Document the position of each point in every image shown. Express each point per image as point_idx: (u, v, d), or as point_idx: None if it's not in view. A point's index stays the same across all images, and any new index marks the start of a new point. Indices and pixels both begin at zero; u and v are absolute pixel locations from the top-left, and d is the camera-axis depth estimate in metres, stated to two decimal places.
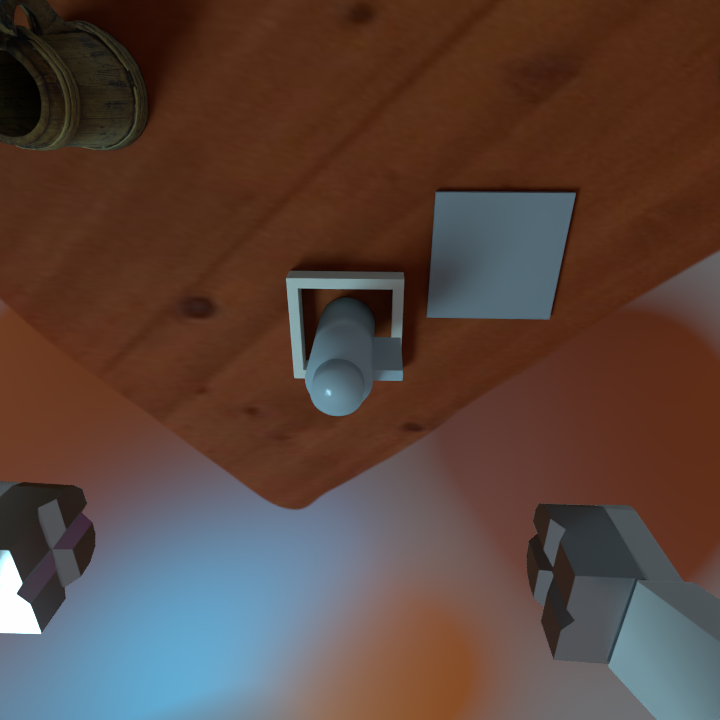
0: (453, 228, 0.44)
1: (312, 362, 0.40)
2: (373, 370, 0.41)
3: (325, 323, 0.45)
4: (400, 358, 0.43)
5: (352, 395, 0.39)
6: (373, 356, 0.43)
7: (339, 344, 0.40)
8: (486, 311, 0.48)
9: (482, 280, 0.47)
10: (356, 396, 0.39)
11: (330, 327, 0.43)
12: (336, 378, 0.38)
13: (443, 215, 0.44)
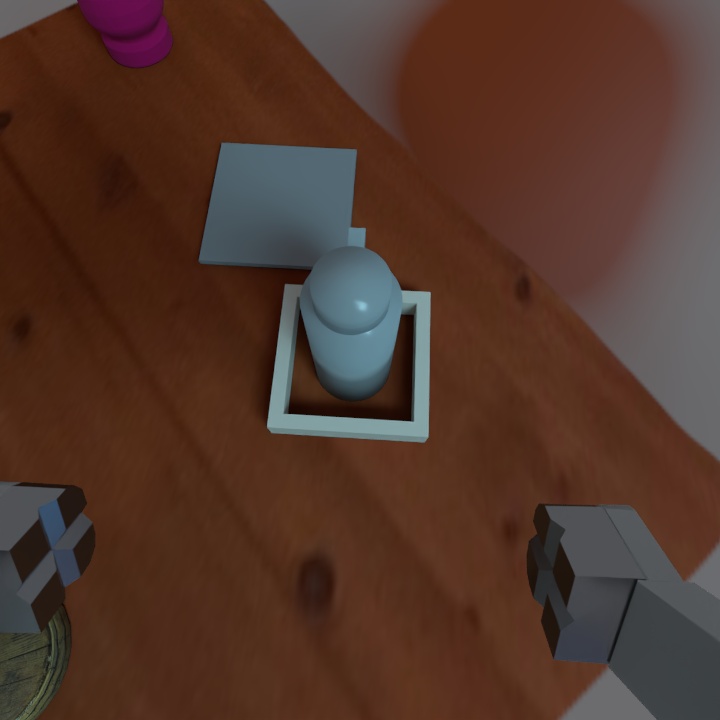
0: (240, 243, 0.40)
1: (316, 333, 0.26)
2: None
3: (315, 361, 0.32)
4: None
5: (353, 260, 0.25)
6: None
7: None
8: (343, 208, 0.41)
9: (304, 213, 0.41)
10: (356, 255, 0.25)
11: (310, 346, 0.31)
12: (321, 280, 0.25)
13: (224, 252, 0.40)
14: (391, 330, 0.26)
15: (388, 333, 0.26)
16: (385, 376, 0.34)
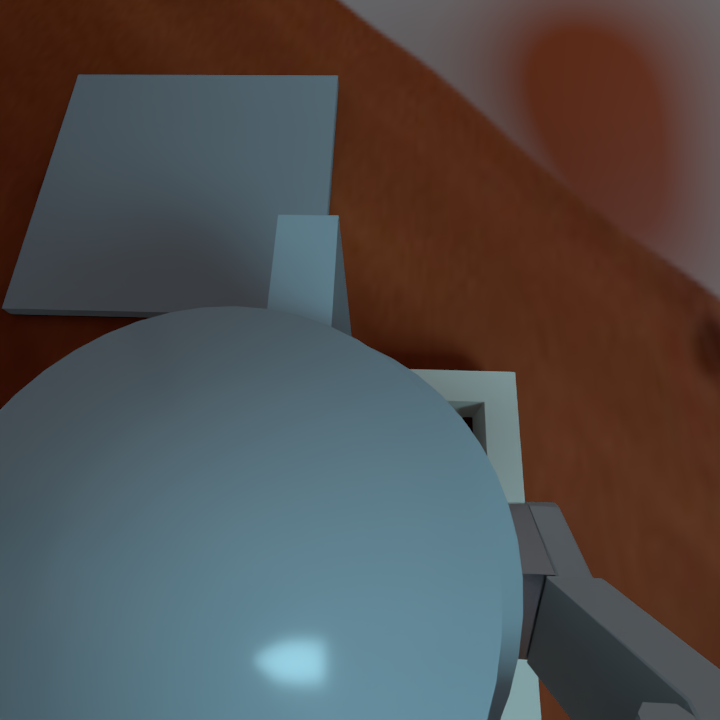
0: (94, 268, 0.19)
1: None
2: None
3: None
4: None
5: (227, 402, 0.04)
6: None
7: None
8: (311, 187, 0.20)
9: (230, 201, 0.20)
10: (249, 366, 0.04)
11: None
12: None
13: (59, 290, 0.19)
14: None
15: None
16: None
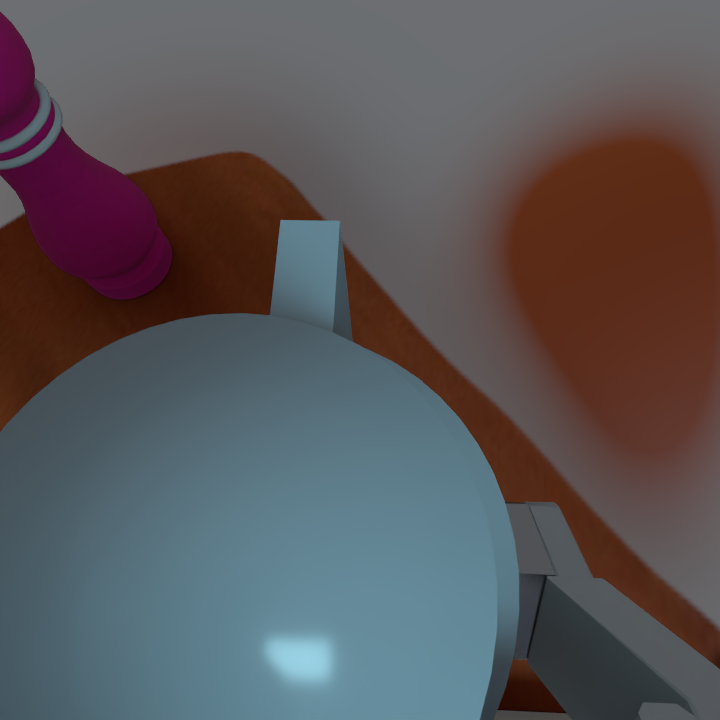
0: None
1: None
2: None
3: None
4: None
5: (236, 405, 0.04)
6: None
7: None
8: None
9: None
10: (255, 370, 0.04)
11: None
12: (12, 563, 0.04)
13: None
14: None
15: None
16: None
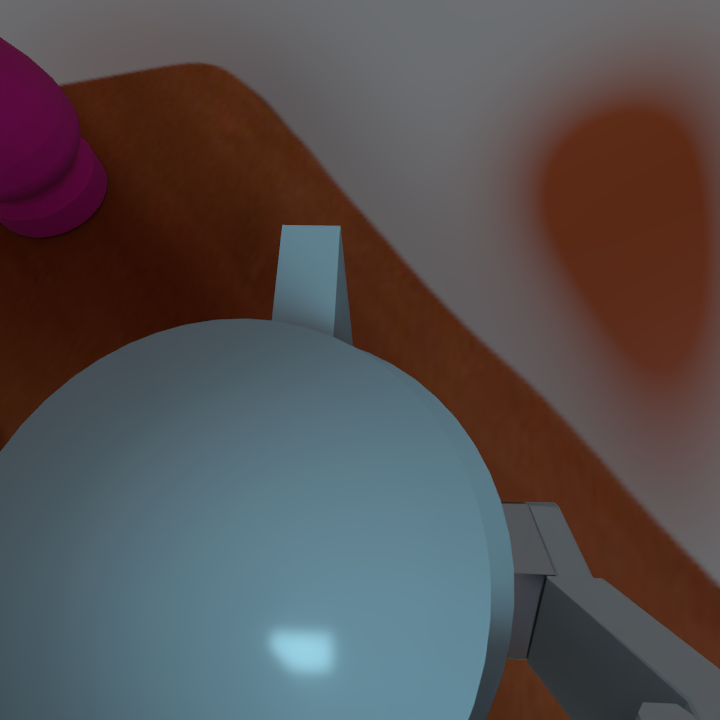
0: None
1: None
2: None
3: None
4: None
5: (240, 406, 0.04)
6: None
7: None
8: None
9: None
10: (259, 374, 0.04)
11: None
12: (27, 558, 0.04)
13: None
14: None
15: None
16: None
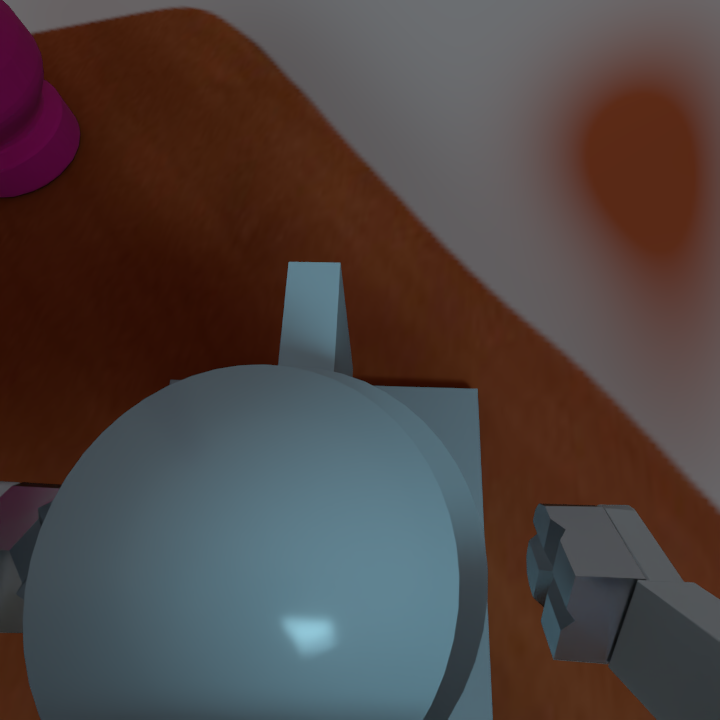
0: None
1: None
2: None
3: None
4: None
5: (260, 438, 0.05)
6: None
7: None
8: None
9: None
10: (275, 411, 0.05)
11: None
12: (94, 560, 0.05)
13: None
14: (449, 706, 0.06)
15: None
16: None
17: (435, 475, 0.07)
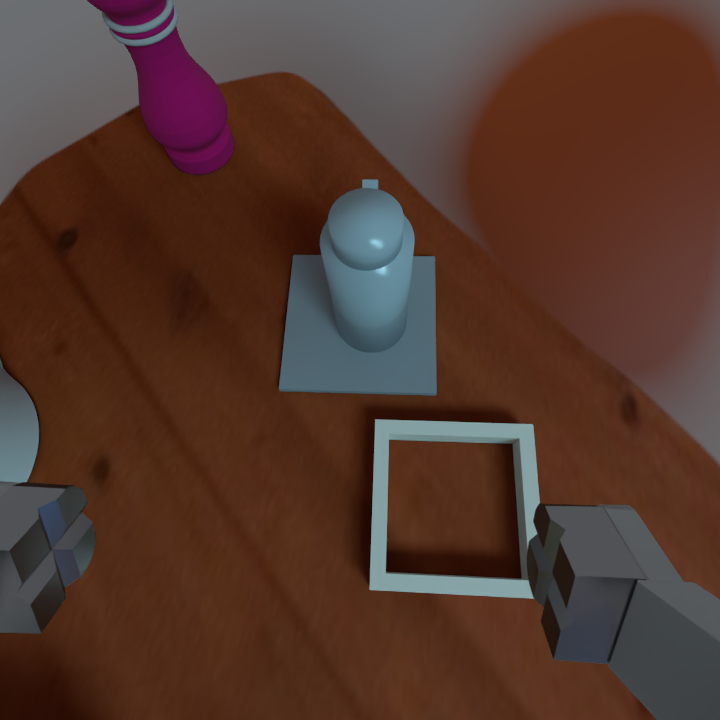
0: (321, 368, 0.38)
1: (336, 270, 0.28)
2: None
3: (336, 310, 0.34)
4: None
5: (367, 200, 0.28)
6: None
7: None
8: (426, 323, 0.39)
9: None
10: (369, 195, 0.28)
11: (330, 294, 0.33)
12: (339, 218, 0.27)
13: (305, 379, 0.38)
14: (405, 265, 0.28)
15: (402, 268, 0.28)
16: (402, 325, 0.36)
17: None
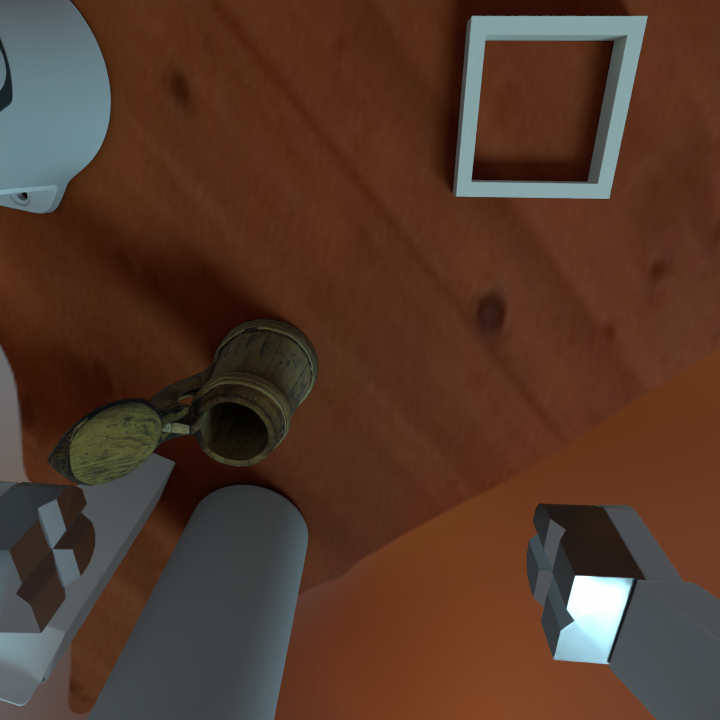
0: None
1: None
2: None
3: None
4: None
5: None
6: None
7: None
8: None
9: None
10: None
11: None
12: None
13: None
14: None
15: None
16: None
17: None
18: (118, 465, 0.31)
